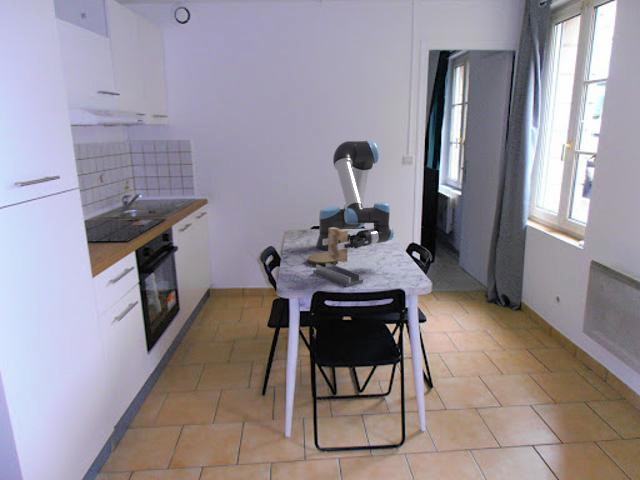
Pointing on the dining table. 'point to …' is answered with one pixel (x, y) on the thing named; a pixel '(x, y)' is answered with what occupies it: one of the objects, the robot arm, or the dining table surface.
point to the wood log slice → (320, 260)
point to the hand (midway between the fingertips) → (330, 244)
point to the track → (338, 275)
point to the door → (334, 239)
